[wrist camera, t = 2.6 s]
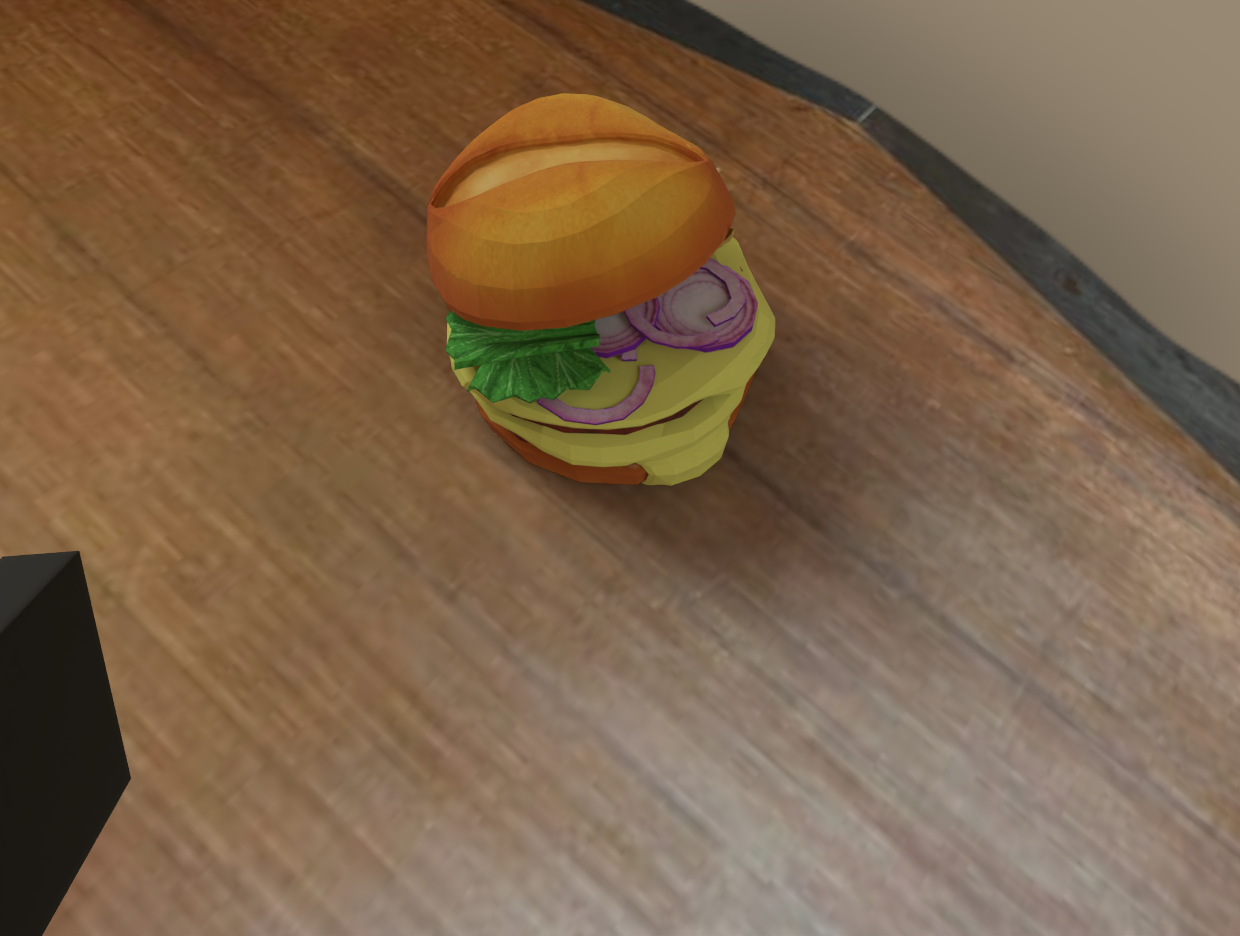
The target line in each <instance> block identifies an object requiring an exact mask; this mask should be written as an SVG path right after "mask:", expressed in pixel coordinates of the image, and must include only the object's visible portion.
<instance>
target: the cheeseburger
mask: <svg viewBox="0 0 1240 936" xmlns="http://www.w3.org/2000/svg"><path fill="white" fill-rule="evenodd" d="M734 216H735V207H734V203H733V199H732V197H731V195H730V193H729V191H728V190H727V188H726V186H725V184H724V182H723V180H722V179H721V177H720V175H719V173H718V171H717V169H716V167H715V165H714V163H713V161H712V160H711V159H710V158H709V157H708V156H707V155H706V154H705V153H704V152H703V151H702V150H701V149H700V148H698V147H697V146H695V145H694V144H692V143H690V142H688V141H687V140H685V139H683V138H681V137H679V136H677V135H676V134H674V133H672V132H670V131H669V130H667V129H665V128H663V127H661V126H660V125H658V124H656V123H655V122H653V121H652V120H650V119H648V118H647V117H645V116H643V115H642V114H640V113H638V112H636V111H634V110H633V109H631V108H629V107H627V106H625V105H622V104H619V103H616V102H613V101H610V100H607V99H604V98H601V97H598V96H593V95H587V94H566V93H562V94H558V95H553V96H548V97H543V98H538V99H536V100H533V101H531V102H529V103H527V104H524V105H522V106H520V107H517V108H515V109H513V110H511V111H510V112H509V113H507V114H506V115H504V116H503V117H502V118H500V119H499V120H497V121H496V122H495V123H494V124H492V125H491V126H490V127H488V128H487V129H486V130H485V131H484V132H482V133H481V134H480V135H479V136H478V137H476V138H475V139H474V140H473V141H472V142H471V143H470V144H469V145H468V146H467V147H466V148H465V149H464V150H463V151H462V152H461V153H460V155H459V156H458V157H457V158H456V159H455V160H454V161H453V162H452V164H451V165H450V166H449V167H448V169H447V170H446V171H445V173H444V174H443V175H442V177H441V178H440V179H439V181H438V183H437V184H436V186H435V187H434V189H433V192H432V195H431V197H430V200H429V203H428V206H427V258H428V263H429V268H430V272H431V277H432V281H433V283H434V284H435V286H436V288H437V290H438V292H439V293H440V295H441V297H442V298H443V300H444V302H445V304H446V305H447V307H448V309H449V310H451V311H450V313H449V314H448V316H447V317H446V320H447V322H448V324H447V347H446V350H445V351H446V352H447V353H448V354H449V356H450V360H451V365H452V366H451V367H452V369H453V371H454V372H455V374H456V376H457V378H458V380H459V381H460V383H461V385H462V387H464V388H466V389H467V391H468V392H469V391H470V392H471V393H472V395H473V396H474V397H475V399H476V402H477V405H478V408H479V410H480V413H481V416H482V417H483V418H484V419H485V421H486V422H487V423H488V424H489V426H490V427H491V428H492V429H493V431H494V432H495V433H496V434H498V435H499V436H500V437H501V438H502V439H503V440H504V441H505V442H507V443H508V444H509V445H510V446H511V447H512V448H513V449H514V450H516V451H517V452H518V453H519V454H520V455H521V456H522V457H523V458H525V459H526V460H527V461H528V462H529V463H532V464H534V465H537V466H539V467H542V468H545V469H547V470H550V471H552V472H555V473H558V474H560V475H563V476H565V477H568V478H571V479H573V480H576V481H578V482H590V483H611V484H632V485H637V484H639V483H642V484H645V485H670V486H671V485H674V484H677V483H680V482H684V481H687V480H690V479H693V478H696V477H699V476H701V475H702V474H703V473H704V472H705V471H706V470H708V469H709V468H710V467H711V466H712V465H714V464H715V463H716V462H717V461H718V460H719V459H721V456H722V454H723V451H724V448H725V445H726V443H727V440H728V437H729V430H730V428H731V426H732V424H733V423H734V421H735V419H736V416H737V414H738V412H739V410H740V407H741V405H742V403H743V401H744V398H745V396H746V394H747V392H748V389H749V387H750V385H751V382H752V380H753V378H754V375H755V373H756V370H757V368H758V367H759V365H760V364H761V362H762V360H763V359H764V357H765V355H766V354H767V352H768V350H769V348H770V346H771V344H772V342H773V340H774V337H775V317H774V315H773V313H772V311H771V309H770V307H769V305H768V304H767V302H766V300H765V298H764V296H763V294H762V292H761V290H760V288H759V287H758V285H757V283H756V281H755V279H754V277H753V275H752V273H751V271H750V270H749V268H748V265H747V263H746V260H745V258H744V255H743V253H742V250H741V248H740V246H739V243H738V241H736V240H735V239H734V238H733V235H734V233H735V230H734V229H731V228H730V226H731V224H732V222H733V219H734Z"/></svg>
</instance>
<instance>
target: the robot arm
mask: <svg viewBox="0 0 1240 936" xmlns="http://www.w3.org/2000/svg"><path fill="white" fill-rule="evenodd" d="M130 779H131V776H130V772H129V767H128V763H127V759H126V754H125V750H124V746H123V741H122V737H121V732H120V728H119V724H118V719H117V715H116V710H115V706H114V702H113V697H112V693H111V689H110V684H109V680H108V675H107V671H106V667H105V662H104V658H103V653H102V649H101V645H100V640H99V636H98V631H97V627H96V623H95V618H94V614H93V610H92V605H91V601H90V596H89V592H88V588H87V583H86V579H85V574H84V570H83V566H82V561H81V557H80V552H79V551H72V552H59V553H46V554H33V555H20V556H7V557H2V558H1V559H0V936H42V935H43V933H44V931H45V929H46V928H47V926H48V924H49V922H50V921H51V919H52V917H53V915H54V914H55V912H56V910H57V908H58V906H59V905H60V903H61V901H62V899H63V898H64V896H65V894H66V892H67V891H68V889H69V887H70V885H71V884H72V882H73V880H74V878H75V876H76V875H77V873H78V871H79V869H80V868H81V866H82V864H83V862H84V861H85V859H86V857H87V855H88V853H89V852H90V850H91V848H92V846H93V845H94V843H95V841H96V839H97V838H98V836H99V834H100V832H101V831H102V829H103V827H104V825H105V823H106V822H107V820H108V818H109V816H110V815H111V813H112V811H113V809H114V808H115V806H116V804H117V802H118V800H119V799H120V797H121V795H122V793H123V792H124V790H125V788H126V786H127V785H128V783H129V781H130Z"/></svg>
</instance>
